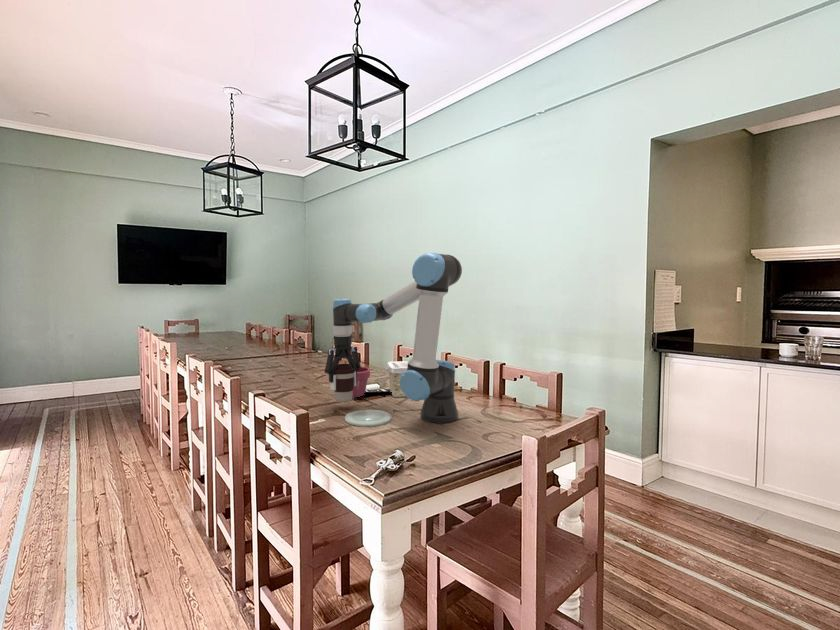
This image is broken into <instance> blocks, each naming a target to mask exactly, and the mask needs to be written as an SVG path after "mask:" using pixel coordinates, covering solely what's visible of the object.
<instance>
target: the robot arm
mask: <svg viewBox="0 0 840 630" xmlns="http://www.w3.org/2000/svg"><path fill="white" fill-rule="evenodd" d="M462 273H463V266H462V265H461V262H460V260H459V259H457V257H455V256H453V255H451V254H444V253H437V252H428V253H423V254H421V255H419V256H418V257H417V258H416V260H414V262H413V265H412V269H411V275H412V278H413V279H414V281H412V282H411V283H409V284H408V285H406V286H405V285H404V286H403V287H402V288H401V289H399V290H396V291H395V292H394V293H392V294H390V295H388V296H386V297H384V299H382V300H380V301H378V302H374V303H372V302H371V303H352V299H351V298H334V299H333V303H332V305H333V306H332V316H333V317H332V320H333V326H332V327H333V335H334V336H333V345H334V347H333V349H328V350H327V359H326V364H325V368H324V374H327V375H328V382H329V384H330V385H329V386H330V391H333V392H334V391H335V390H336V375H335V374H334V373H335V370H336V368H337V365H338V364H340V363H339V362H340V361H341V360H342V359H344V358H346V360H347V362H348V364H351V366H352V367H353V368H355V372H354V385H353V386H356V378H357V371H358V370H359V369H360V368H361V367H362V366H361V362H360V358H359V354H358V347H357V346H353V345H352V344H353V343H352V342H353V338H352V336H351V335H352V334H353V331H352V328H353V327H352V323H362V324H366V323H373V322H377V321H386V320H390V319H391V318H392V317H393V316H394V314H395V313H398V312H400V311H402V310H403V309H405V308H406V307H409V306H411V305H412V304H414V303H416V302H418V307H417V316H416V324H415V332H414V333H415V334H414V342H413V350H412V351H413V352H412V358H411V359H409V360H408V367H407V371H405V372H404V374H402V376H401V379H400V386H401V389H402V391H403V392H404V394H405V396H406V397H405V398H408V400H411V401H414V402H420V401H423V404H422V407H421V409H420V418H421V419H422V420H424V421H426V422H431V423H436V424H437V423H439V424H441V423H442V424H443V423H451V422H455V421H457V420H458V419H459V410H458V409H457V404H456V400H455V382H456V381H455V378H456V375H455V374H456V369H455V368H456V367H455V363H454V362H453V361H449V360H444V359H443V360H442V359H437V350H438V343H439V334H440V327H441V325H440V324H441V318H442V317H441V316H442V310H443V302H444V300H443V299H444V296H445V295H447V294H448V293H449V288H450V287H451V286H454V284H456V283H458V281H459V280H460V279H461V276H462Z"/></svg>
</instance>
